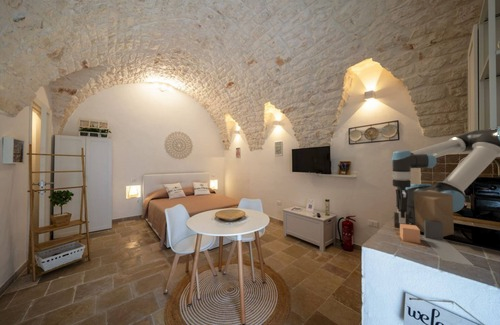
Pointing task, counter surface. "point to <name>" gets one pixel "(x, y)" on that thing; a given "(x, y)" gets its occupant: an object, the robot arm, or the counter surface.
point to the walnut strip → (397, 230)
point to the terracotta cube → (410, 233)
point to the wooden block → (434, 210)
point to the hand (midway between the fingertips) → (401, 222)
